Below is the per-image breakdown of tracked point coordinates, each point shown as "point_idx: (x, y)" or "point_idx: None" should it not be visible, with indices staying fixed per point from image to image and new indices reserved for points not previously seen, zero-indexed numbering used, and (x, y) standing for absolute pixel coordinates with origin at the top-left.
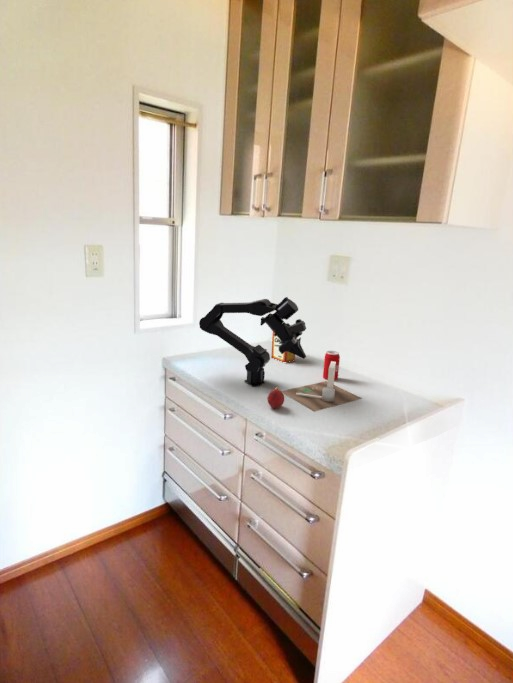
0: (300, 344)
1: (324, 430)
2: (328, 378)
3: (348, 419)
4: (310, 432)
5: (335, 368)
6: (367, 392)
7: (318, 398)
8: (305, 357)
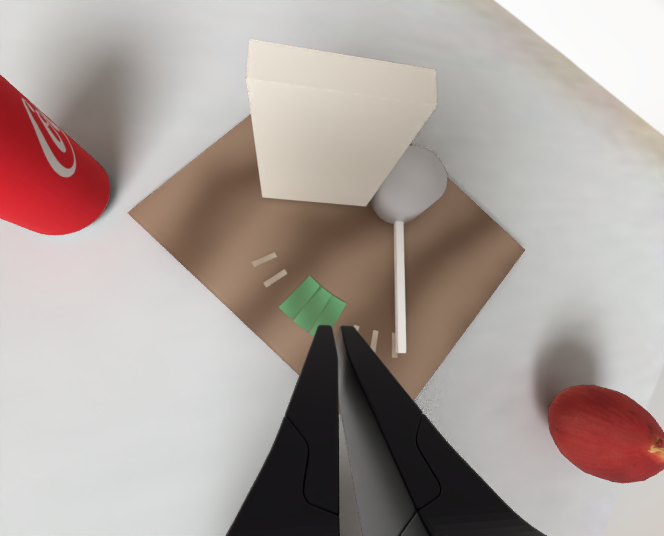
0: (257, 512)
1: (621, 207)
2: (399, 154)
3: (514, 130)
4: (653, 250)
5: (50, 121)
6: (219, 32)
7: (392, 240)
8: (351, 328)
